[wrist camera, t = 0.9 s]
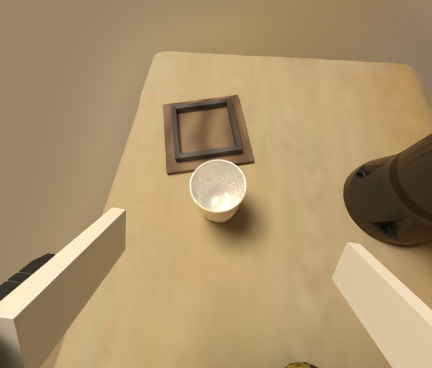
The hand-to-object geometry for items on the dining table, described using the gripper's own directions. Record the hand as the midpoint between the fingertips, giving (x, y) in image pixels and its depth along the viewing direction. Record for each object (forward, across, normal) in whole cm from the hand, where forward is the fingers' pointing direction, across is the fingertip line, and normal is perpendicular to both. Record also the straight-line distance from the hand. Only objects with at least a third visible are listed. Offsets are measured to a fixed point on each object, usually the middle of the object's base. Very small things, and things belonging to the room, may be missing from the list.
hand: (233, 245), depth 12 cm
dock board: (+34, -5, +3) cm, 34 cm away
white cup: (+24, 0, -8) cm, 25 cm away
